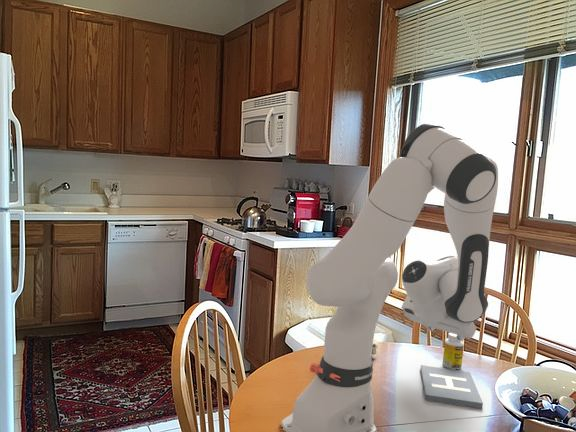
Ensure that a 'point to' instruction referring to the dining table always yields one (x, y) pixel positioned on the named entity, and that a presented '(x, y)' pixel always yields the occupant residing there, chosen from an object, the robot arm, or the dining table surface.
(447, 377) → the gray board
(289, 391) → the dining table surface
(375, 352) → the pale yellow block
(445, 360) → the supplement bottle
